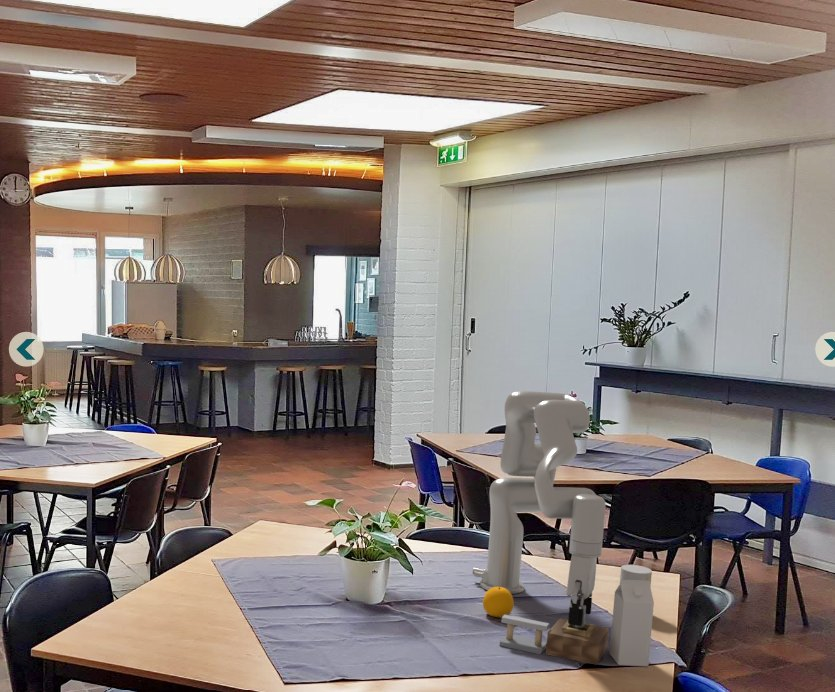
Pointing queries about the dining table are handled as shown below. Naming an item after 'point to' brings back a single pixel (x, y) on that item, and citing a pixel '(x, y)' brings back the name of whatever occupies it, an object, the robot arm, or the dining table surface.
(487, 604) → the orange fruit
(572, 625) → the pin
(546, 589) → the dining table surface
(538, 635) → the peg rack
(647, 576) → the light grey cylinder
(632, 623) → the milk carton
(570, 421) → the robot arm
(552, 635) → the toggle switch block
